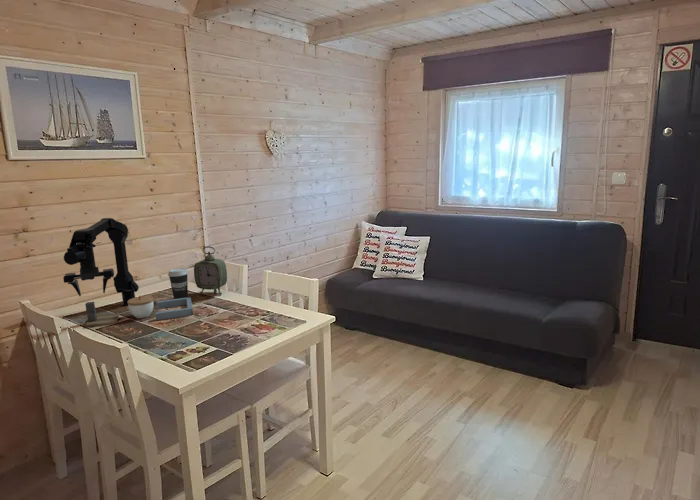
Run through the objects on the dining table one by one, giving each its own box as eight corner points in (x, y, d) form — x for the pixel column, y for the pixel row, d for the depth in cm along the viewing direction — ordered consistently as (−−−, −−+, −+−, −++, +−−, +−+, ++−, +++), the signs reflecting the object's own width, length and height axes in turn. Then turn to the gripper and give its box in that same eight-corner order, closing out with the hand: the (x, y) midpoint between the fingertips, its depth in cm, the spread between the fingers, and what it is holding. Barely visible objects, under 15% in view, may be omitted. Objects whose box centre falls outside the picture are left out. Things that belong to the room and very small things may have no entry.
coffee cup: (166, 301, 235) (163, 272, 232) (178, 295, 244) (175, 267, 241) (183, 302, 232) (179, 272, 229) (194, 296, 241) (191, 267, 238)
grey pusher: (90, 319, 213) (86, 299, 211) (119, 315, 217) (116, 296, 215) (85, 329, 202) (82, 307, 200) (116, 324, 206) (113, 303, 204)
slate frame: (157, 307, 225) (156, 301, 225) (191, 302, 231) (190, 297, 230) (156, 320, 208) (155, 313, 207) (193, 314, 213) (192, 308, 213)
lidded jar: (159, 311, 219) (157, 292, 217) (147, 320, 209) (145, 299, 207) (137, 311, 220) (135, 292, 218) (124, 320, 210) (121, 299, 208)
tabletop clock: (196, 295, 242) (191, 247, 237) (205, 290, 251) (200, 244, 246) (221, 296, 239) (217, 248, 234) (230, 291, 248) (226, 244, 242)
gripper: (58, 266, 191) (64, 303, 194) (110, 260, 198) (115, 296, 201) (62, 260, 201) (68, 296, 204) (111, 255, 208) (116, 289, 211)
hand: (92, 294), depth 205 cm, fingers open, 9 cm apart
